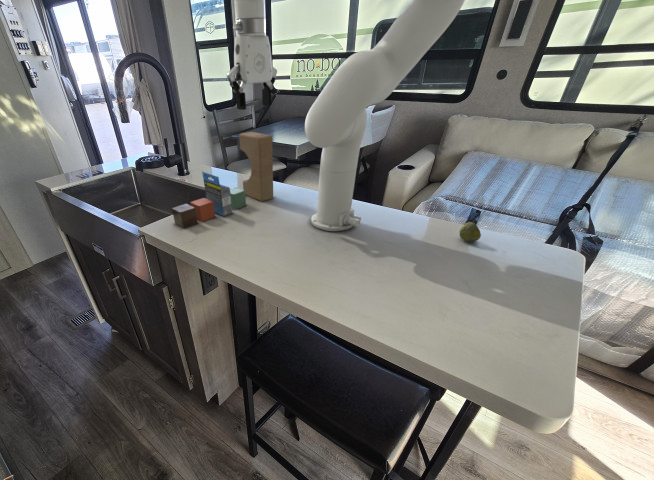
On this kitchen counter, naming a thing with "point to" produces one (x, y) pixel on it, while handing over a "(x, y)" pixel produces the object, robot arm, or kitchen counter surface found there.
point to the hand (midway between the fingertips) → (254, 107)
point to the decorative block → (258, 165)
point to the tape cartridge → (217, 194)
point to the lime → (470, 232)
